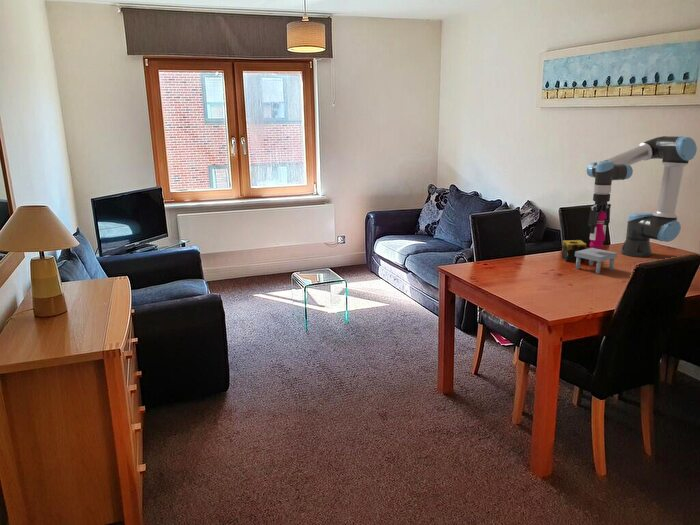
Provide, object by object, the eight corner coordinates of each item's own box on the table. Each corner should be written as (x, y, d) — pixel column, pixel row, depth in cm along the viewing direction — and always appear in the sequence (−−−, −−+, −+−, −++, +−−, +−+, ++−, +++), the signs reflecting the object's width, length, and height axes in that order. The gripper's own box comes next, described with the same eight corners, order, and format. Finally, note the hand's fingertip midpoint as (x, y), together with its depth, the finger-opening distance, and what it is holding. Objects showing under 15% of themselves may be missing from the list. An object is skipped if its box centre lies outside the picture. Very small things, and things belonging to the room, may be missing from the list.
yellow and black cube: (579, 257, 287) (581, 240, 285) (585, 262, 278) (587, 244, 275) (560, 257, 288) (562, 240, 286) (566, 262, 279) (567, 244, 276)
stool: (590, 264, 273) (591, 247, 271) (615, 270, 262) (617, 252, 260) (573, 268, 266) (575, 251, 264) (598, 274, 255) (600, 257, 253)
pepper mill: (603, 248, 256) (607, 208, 251) (587, 247, 260) (591, 207, 255) (605, 245, 262) (609, 206, 257) (589, 244, 266) (593, 205, 261)
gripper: (607, 190, 262) (602, 234, 268) (582, 194, 252) (578, 240, 258) (621, 192, 256) (616, 237, 262) (596, 195, 246) (591, 242, 252)
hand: (597, 238), depth 260 cm, fingers closed on pepper mill, 7 cm apart
